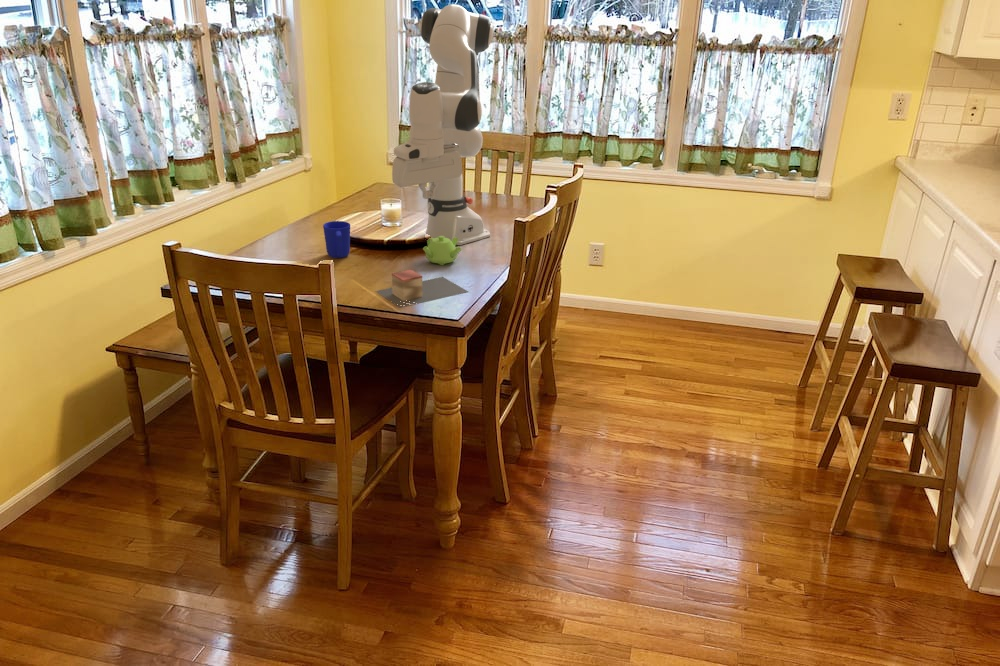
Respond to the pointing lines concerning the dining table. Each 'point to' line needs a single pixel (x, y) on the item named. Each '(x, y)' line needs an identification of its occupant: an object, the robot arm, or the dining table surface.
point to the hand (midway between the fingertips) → (428, 197)
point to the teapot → (441, 250)
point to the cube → (407, 285)
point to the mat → (426, 292)
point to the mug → (337, 238)
